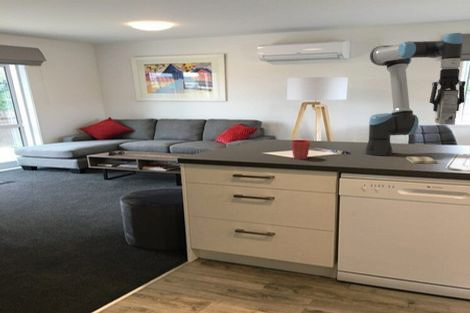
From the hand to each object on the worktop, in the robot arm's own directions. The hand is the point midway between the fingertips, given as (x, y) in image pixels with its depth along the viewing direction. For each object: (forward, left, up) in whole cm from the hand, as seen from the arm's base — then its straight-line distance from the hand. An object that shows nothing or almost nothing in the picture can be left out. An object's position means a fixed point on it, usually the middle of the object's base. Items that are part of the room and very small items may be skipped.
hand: (445, 118), depth 160 cm
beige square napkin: (-5, +12, -23) cm, 27 cm away
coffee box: (0, 0, -3) cm, 3 cm away
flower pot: (-67, +19, -24) cm, 73 cm away
